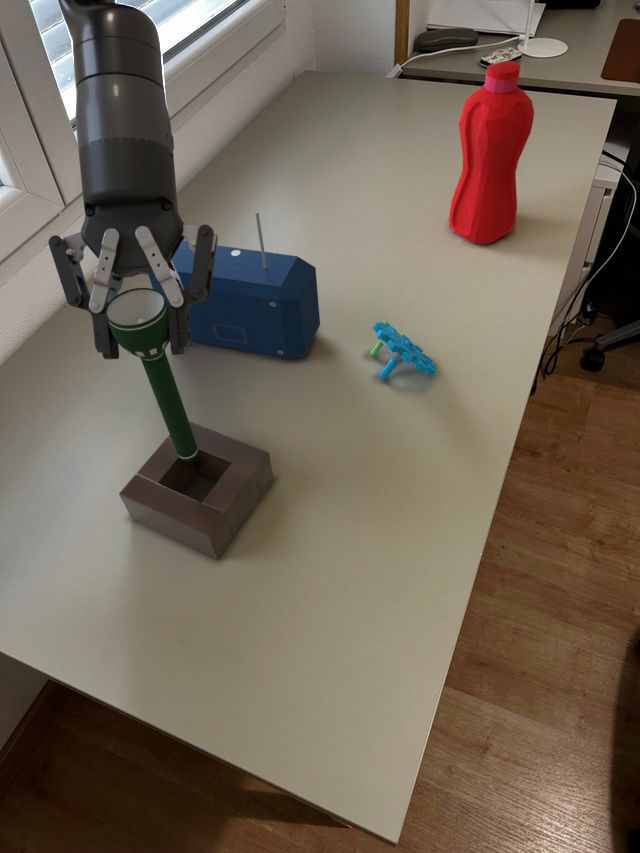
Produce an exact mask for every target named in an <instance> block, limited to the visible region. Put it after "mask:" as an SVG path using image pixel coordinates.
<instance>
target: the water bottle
mask: <svg viewBox="0 0 640 853" xmlns="http://www.w3.org/2000/svg"><path fill="white" fill-rule="evenodd" d="M520 71H521V65H520V64H519V63H518V62H516V61H514V60H503V61H497V62H495V63H494V62H493V63H492V64H489V65H488V66H487V67H486V71H485V72H486V73H485V78H484V84H483V85H481V86H479V87H478V89H476V90H474V91H473V92H472V93H471V94H470V95H468V97H467V98H466V99H465V101H464V104H463V106H462V110H461V113H460V116H459V120H458V130H459V138H460V146H461V154H462V166H461V167H462V169H461V172H460V175H459V178H458V181H457V184H456V187H455V189H454V192H453V195H452V198H451V200H450V207H449V213H448V214H449V215H448V223H449V227H450V228H451V229H452V231H453V232H454V233H456V234H458V235H460V236H461V237H463V238H464V239H465V240H466V241H468V242H471V243H473V244H483V245H485V244H489V243H492V242H495V241H496V240H498V239H499V238H501V237H504V236H507V235H508V234H509V233H510V232H511V231H512V230H513V228H514V227H515V224H516V219H517V211H518V195H517V194H518V192H517V177H516V172H517V168H518V163H519V161H520V158H521V156H522V154H523V152H524V150H525V147H526V144H527V142H528V140H529V138H530V136H531V133H532V128H533V123H534V117H535V110H534V105H533V100H532V99H531V98H530V97H529V95H528V94H527V93H526V92H525V91H524V90H523V89H521V88H520V87H519V86H518V84H519V79H521V77H520Z"/></svg>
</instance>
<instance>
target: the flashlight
mask: <svg viewBox="0 0 640 853" xmlns="http://www.w3.org/2000/svg"><path fill="white" fill-rule="evenodd" d="M168 309H169V307H168V304H167V302H166V300H165V298H164V296H163V295H162V294H161V293H160V292H158V291H156V290H154V289H153V288H149V287H137V288H131V289H127V290H124V291H122V292H121V293H118V294H117V296H116V297H114V298H113V299H112V300H111V301H110V302H109V304H108V306H107V308H106V318H107V321H108V324H109V327H110V329H111V332H112V334H113V336H114V338H115V340H116V341H117V342H118V345H119V346H120V347H121V348H122V349H123V350H124V351H126V352H127V353H128V354H130V355H132V356H134V357H138V358H140V360H141V363H142V367H143V368H144V371H145V374H146V377H147V379H148V382H149V384H150V387H151V389H152V393H153V394H154V398H155V401H156V403H157V405H158V408H159V411H160V413H161V416H162V418H163V420H164V423H165V426H166V429H167V432H168V435H170V437H171V439H172V442H173V444H174V447H175V450H176V452H177V455H178V457H179V458H180V459H181V460H182V461H185V462H190V461H193V460H194V459H195V458H196V457H197V455H198V447H197V444H196V441H195V438H194V435H193V432H192V429H191V426H190V423H189V421H190V420H189V418H188V415H187V411H186V409H185V406H184V403H183V399H182V397H181V394H180V392H179V388H178V385H177V381H176V379H175V377H174V373H173V371H172V368H171V364H170V362H169V358H168V356H167V355H168V354H167V353H166V349H167V347H168V345H169V344H170V335H169V323H168V312H167V310H168Z"/></svg>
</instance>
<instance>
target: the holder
mask: <svg viewBox="0 0 640 853" xmlns="http://www.w3.org/2000/svg"><path fill="white" fill-rule="evenodd" d="M189 423H190V426H191V429H192V432H193V435H194V438H195V441H196V444H197V447H198V455H197V457H196V458H195V459H194V460H193V461H190V462H185V461H182V460H181V459H180V458H179V457H178V455H177V452H176V450H175V447H174V444H173V442H172V439H171V437H170V434H168V436H167V437H166V438H165V439H164V440H163V442H161V444H160V445H159V446H158V448H157V449H155V451H154V452H153V453H152V455H151V456H150V457H149V458H148V459H147V460H146V461H145V463H144V464H143V465H142V466H141V467H140V469H138V471H137V472H136V473H135V475H134V476H133V477H131V479H130V480H129V481H128V483H127V484H126V485H125V486H124V487H123V488H122V490H120V492H119V493H118V495H119V498H120V499H121V501H122V503H123V506H124V507H125V508H126V510H127V512H128V514H129V517H130V518H131V519H132V520H134V521H135V522H138V523H140V524H141V525H144V526H146V527H148V528H150V529H152V530H154V531H156V532H158V533H160V534H162V535H164V536H166V537H169V538H171V539H173V540H175V541H177V542H179V543H181V544H183V545H185V546H187V547H190V548H191V549H194V550H195V551H198V552H200V553H202V554H205V555H206V556H209V557H210V558H212V559H215V560H217V561H219V559H220V557H221V556H222V555H223V553H224V552H225V551H226V550H227V547H228V546H229V545H230V543H231V542H232V540H234V539H233V538H234V537H235V536H236V534H237V533H238V532H239V530H240V528H242V526H243V524H244V523H245V522H246V521H247V518H248V517H249V516H250V514H252V511H253V510H254V508H255V507H256V506H257V504H258V503H259V501H260V500H261V499H262V497H263V496H264V495H265V493H266V491H267V490H268V489H269V487H270V486H271V484H272V482H274V480H275V476H274V472H273V467H272V461H271V458H270V452H269V451H266V450H264V449H261V448H258V447H256V446H253V445H250V444H248V443H245V442H243V441H240V440H238V439H235V438H234V437H231V436H228V435H225V434H223V433H220V432H218V431H215V430H213V429H211V428H208V427H204V426H203V425H200V424H198V423H196V422H193V421H190V420H189ZM198 472H199V473H201V474H204V475H206V476H208V477H211V478H213V479H215V480H218V481H217V482H216V484H214V486H213V487H212V489H210V491H209V492H208V494H207V496H205V498H204V499H203V500H202V501H201V502H200V501H198V500H196V499H193V498H191V497H189V496H187V495H185V494H182V492H183V491H184V489H185V488H186V487H187V486H188V484H189V483H190V482H191V481H192V479H193V478H194V477H195V476H196V475H197V473H198Z"/></svg>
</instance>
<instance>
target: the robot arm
mask: <svg viewBox="0 0 640 853" xmlns="http://www.w3.org/2000/svg"><path fill="white" fill-rule="evenodd" d="M57 4H58V6H59V10H60V13H61V15H62V18H63V20H64V23H65V26H66V28H67V31H68V34H69V38H70V40H71V50H72V51H71V52H72V61H73V62H72V63H73V72H74V81H75V82H74V84H75V89H76V90H75V96H76V98H75V99H76V101H75V102H76V103H75V127H76V130H75V131H76V140H77V150H78V159H79V169H80V170H79V171H80V179H81V180H80V181H81V190H82V202H83V209H84V221H83V224H82V226H81V229H80V232H77V233H73V234H70V235H67V236H64V237H61V236H60V235H56V234H54V235H52V236H50V238H49V239H48V242H47V243H48V246H49V247H48V248H49V251H50V253H51V257H52V259H53V262H54V265H55V269H56V271H57V274H58V277H59V281H60V284H61V287H62V290H63V294H64V296H65V299H66V302H67V304H68V305H69V306H71V307H74V308H78V309H79V310H84V311H87V312H88V313H89V314H90V316H91V318H92V330H93V339H94V347H95V350H96V351H97V353H100V354H102V358H103V359H104V360H119V359H120V347H119V346H120V345H119V343H118V342H117V341H116V340H115V338H114V336H113V334H112V332H111V329H110V327H109V324H108V321H107V318H106V308H107V306H108V304H109V302H110V301H111V300H112V299H113V298H114V297H116V296H117V295H119V292H120V291H121V290H122V287H123V285H124V280H125V278H133V277H135V276H139V275H146V276H149V275H155V276H156V278H157V280H158V281H159V283H160V284H161V286H162V288H163V290H164V292H165V294H166V296H167V298H168V300H169V302H170V308H171V309H168V310H167V312H168V323H169V335H170V342H169V344H170V353H171V355H173V356H184V355H185V354H186V348H190V347H191V344H192V342H191V330H190V318H189V310H190V308H191V307H192V306H193V305H194V304H196V303H199V302H201V301H206V300H208V299H209V297H210V292H211V285H212V277H213V270H214V263H215V255H216V248H217V245H218V240H219V239H218V238H219V237H218V233H216V231H215V230H214V229H213V228H212V227H211V226H210V225H209V224H201V225H200V226H197V225H192V224H191V225H190V224H185V223H184V221H183V220H182V217H181V215H180V213H179V205H178V204H179V203H178V193H177V181H176V168H175V167H176V166H175V157H174V149H175V143H174V142H175V140H174V136H173V134H172V124H171V117H170V112H169V108H168V104H167V103H168V102H167V97H166V87H165V75H164V74H165V73H164V62H163V54H162V52H163V51H162V45H161V44H162V43H161V36H160V33H159V30H158V28H157V25H156V23H155V21H154V20H153V18H151V17H150V16H149V15H148V14H147V13H146V12H144V10H142V9H140V8H138V7H136V6H134V5H130V4H126V3H122V2H121V3H119V2H117V0H57ZM184 239H187V241H188V242H189V248H190V249H191V250H192V251H193V252H194V253H195V256H194V263H193V271H192V278H191V286H190V287H189V288H186V289H184V288H183V285H182V283H181V280H180V277H179V275H178V273H177V271H176V269H175V267H174V264H173V262H172V258H173V256H174V255H175V253H176V251H177V250H178V248H179V246H180V244H181V243H182V241H184ZM86 247H88V249H90V251H91V252H92V254H93V255H94V256H95V257H96V258H97V259H98V260H97V264H96V268H95V271H94V275H93V282H94V283H93V289H92V291H91V294H90V291H89V286H88V284H87V281H86V278H85V275H84V272H83V268H82V266H81V262H82V261H83V260H84V258H85V253H84V250H85V248H86Z"/></svg>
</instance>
